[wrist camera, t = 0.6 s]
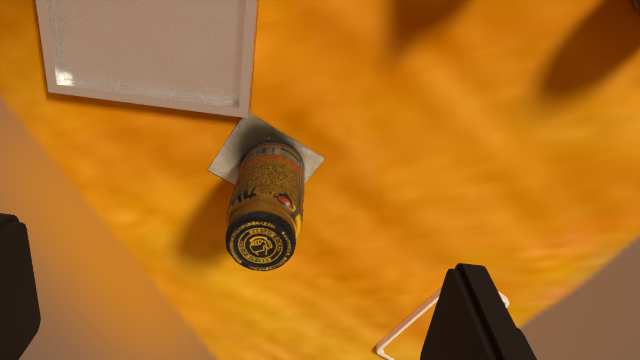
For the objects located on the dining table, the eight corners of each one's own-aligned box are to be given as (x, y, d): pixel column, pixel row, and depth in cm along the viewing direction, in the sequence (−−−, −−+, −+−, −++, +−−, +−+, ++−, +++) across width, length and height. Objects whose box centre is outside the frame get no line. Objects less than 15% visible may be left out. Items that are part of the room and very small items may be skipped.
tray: (29, -142, 34) (15, -145, 32) (266, -103, 35) (264, -104, 34) (58, 85, 42) (48, 92, 41) (250, 110, 43) (247, 118, 42)
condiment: (283, 210, 49) (274, 294, 38) (207, 168, 46) (176, 246, 36) (324, 157, 46) (327, 232, 35) (246, 109, 43) (224, 174, 33)
